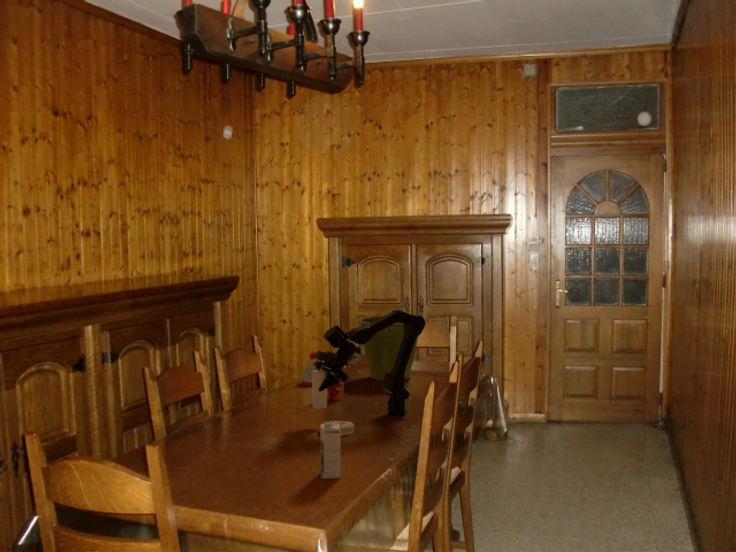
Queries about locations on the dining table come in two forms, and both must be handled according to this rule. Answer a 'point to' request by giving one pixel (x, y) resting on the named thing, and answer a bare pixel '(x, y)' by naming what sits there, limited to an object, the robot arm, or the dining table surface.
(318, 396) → the candle
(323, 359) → the robot arm
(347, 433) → the base disc
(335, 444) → the syrup box
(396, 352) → the plant pot
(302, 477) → the dining table surface
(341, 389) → the coffee cup
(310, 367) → the white and red hat
